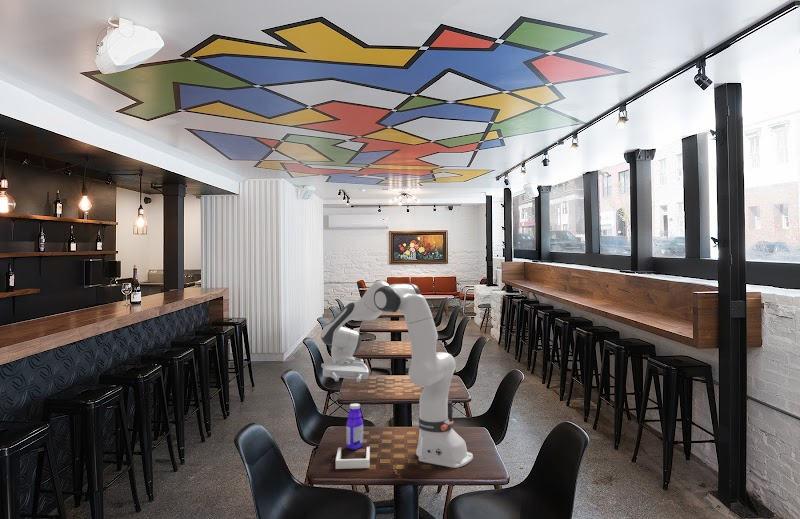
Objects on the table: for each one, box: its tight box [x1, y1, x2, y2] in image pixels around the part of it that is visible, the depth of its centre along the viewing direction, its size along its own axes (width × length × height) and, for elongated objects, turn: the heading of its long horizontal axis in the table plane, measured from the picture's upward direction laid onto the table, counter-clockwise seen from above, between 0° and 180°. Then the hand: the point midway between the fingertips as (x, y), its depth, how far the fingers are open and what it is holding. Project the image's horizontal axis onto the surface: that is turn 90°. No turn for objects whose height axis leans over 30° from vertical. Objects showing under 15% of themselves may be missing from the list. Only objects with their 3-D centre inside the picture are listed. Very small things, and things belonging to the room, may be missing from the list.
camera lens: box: [448, 398, 454, 428], centre depth 210 cm, size 8×8×15 cm
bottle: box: [345, 403, 364, 450], centre depth 197 cm, size 7×6×17 cm
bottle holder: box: [335, 446, 371, 470], centre depth 183 cm, size 12×12×3 cm
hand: (348, 380), depth 205 cm, fingers open, 8 cm apart
